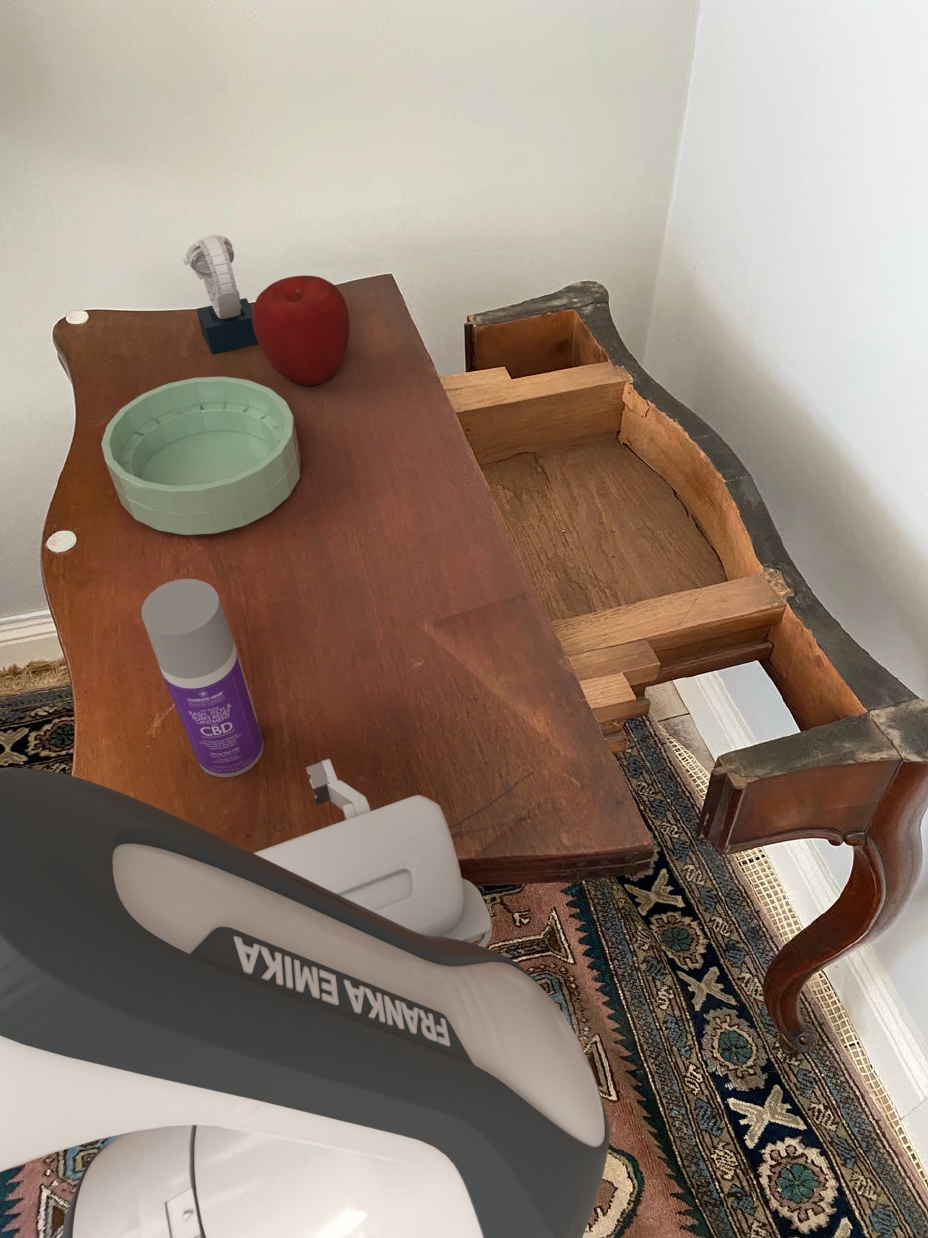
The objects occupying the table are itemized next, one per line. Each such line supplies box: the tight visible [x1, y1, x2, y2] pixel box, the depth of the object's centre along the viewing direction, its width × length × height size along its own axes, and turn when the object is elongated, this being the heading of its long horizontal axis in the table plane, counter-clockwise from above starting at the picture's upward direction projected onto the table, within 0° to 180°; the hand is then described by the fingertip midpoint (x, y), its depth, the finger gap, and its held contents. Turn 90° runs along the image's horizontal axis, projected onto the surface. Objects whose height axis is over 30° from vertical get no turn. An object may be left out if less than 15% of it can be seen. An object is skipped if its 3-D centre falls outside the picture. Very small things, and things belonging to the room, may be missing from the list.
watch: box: [182, 234, 259, 355], centre depth 95 cm, size 6×8×11 cm
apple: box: [252, 275, 350, 387], centre depth 91 cm, size 10×10×10 cm
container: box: [140, 578, 265, 778], centre depth 58 cm, size 5×5×15 cm
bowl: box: [101, 376, 302, 536], centre depth 81 cm, size 16×16×6 cm
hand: (237, 795), depth 51 cm, fingers open, 8 cm apart
